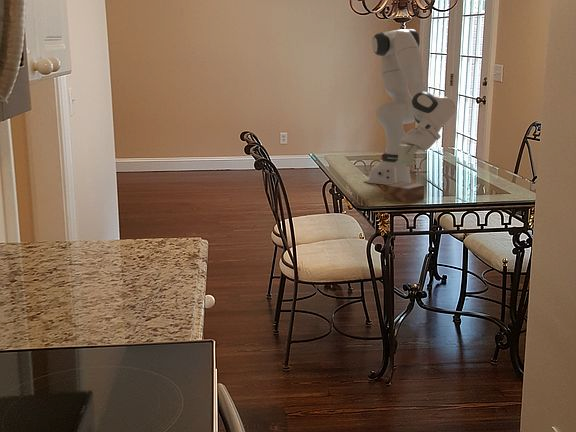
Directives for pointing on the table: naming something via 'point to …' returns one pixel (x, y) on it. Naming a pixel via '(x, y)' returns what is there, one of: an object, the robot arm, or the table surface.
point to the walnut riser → (404, 191)
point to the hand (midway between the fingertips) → (404, 153)
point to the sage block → (405, 155)
